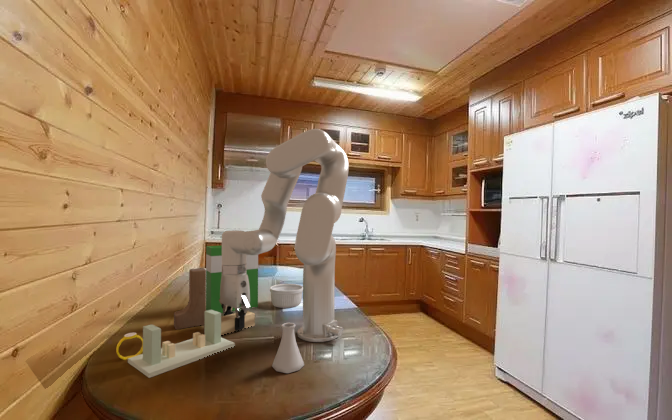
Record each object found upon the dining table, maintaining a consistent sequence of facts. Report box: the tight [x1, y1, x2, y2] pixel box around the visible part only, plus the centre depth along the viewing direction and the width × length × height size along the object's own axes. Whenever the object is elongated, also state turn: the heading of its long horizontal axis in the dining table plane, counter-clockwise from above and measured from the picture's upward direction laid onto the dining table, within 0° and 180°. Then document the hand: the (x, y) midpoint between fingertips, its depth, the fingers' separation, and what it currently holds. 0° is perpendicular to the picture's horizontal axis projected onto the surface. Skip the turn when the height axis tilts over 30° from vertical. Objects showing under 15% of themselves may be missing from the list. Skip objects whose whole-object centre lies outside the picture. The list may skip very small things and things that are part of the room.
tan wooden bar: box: [221, 310, 256, 336], centre depth 104 cm, size 5×12×4 cm, turn 138°
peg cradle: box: [127, 310, 236, 379], centre depth 85 cm, size 12×22×9 cm, turn 142°
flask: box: [271, 322, 305, 374], centre depth 79 cm, size 7×7×10 cm
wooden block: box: [173, 267, 207, 330], centre depth 107 cm, size 9×4×18 cm, turn 122°
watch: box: [115, 332, 143, 361], centre depth 83 cm, size 6×3×6 cm, turn 128°
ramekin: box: [269, 283, 303, 309], centre depth 133 cm, size 13×13×7 cm
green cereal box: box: [205, 244, 259, 314], centre depth 127 cm, size 18×7×24 cm, turn 124°
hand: (234, 326), depth 104 cm, fingers closed on tan wooden bar, 5 cm apart
